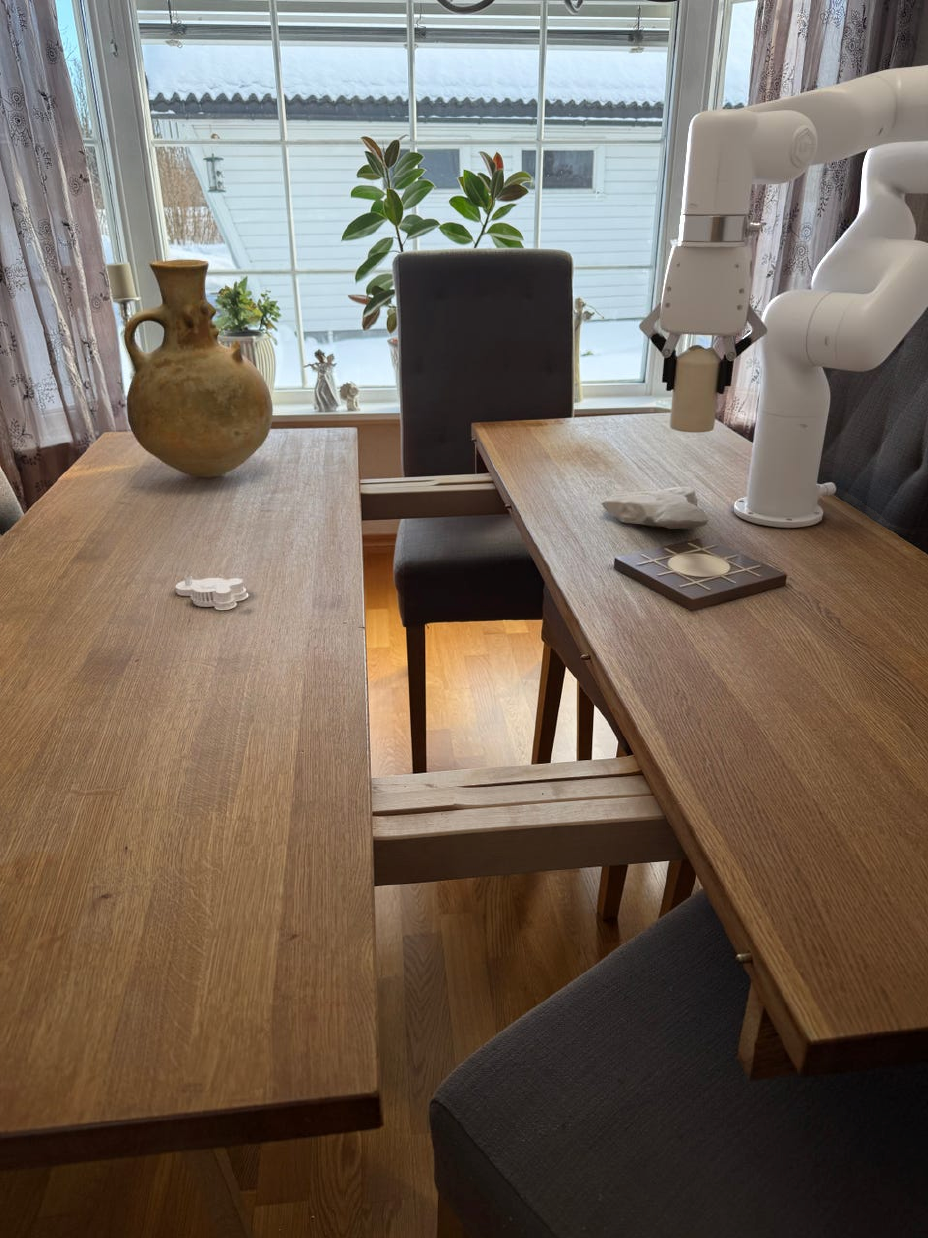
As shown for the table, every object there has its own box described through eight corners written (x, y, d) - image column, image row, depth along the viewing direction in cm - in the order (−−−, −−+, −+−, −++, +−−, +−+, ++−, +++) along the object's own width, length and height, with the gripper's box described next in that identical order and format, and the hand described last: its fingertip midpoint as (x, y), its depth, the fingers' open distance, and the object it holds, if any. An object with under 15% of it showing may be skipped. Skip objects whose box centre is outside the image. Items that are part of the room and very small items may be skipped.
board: (702, 546, 121) (703, 535, 120) (785, 585, 109) (787, 573, 108) (613, 568, 115) (614, 556, 114) (691, 611, 103) (692, 598, 102)
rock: (596, 546, 122) (708, 543, 119) (594, 513, 121) (708, 509, 117) (608, 507, 142) (705, 504, 138) (607, 479, 140) (705, 475, 136)
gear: (254, 582, 112) (252, 567, 111) (245, 611, 104) (243, 595, 103) (179, 586, 111) (176, 570, 110) (165, 615, 104) (162, 599, 103)
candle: (664, 423, 115) (671, 343, 110) (706, 422, 115) (715, 342, 111) (675, 433, 110) (684, 350, 105) (719, 432, 110) (729, 349, 106)
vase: (133, 501, 142) (89, 268, 127) (145, 461, 163) (109, 257, 148) (283, 489, 147) (258, 263, 132) (276, 451, 168) (254, 253, 153)
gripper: (790, 231, 103) (768, 389, 111) (643, 230, 108) (631, 381, 116) (790, 234, 97) (766, 400, 105) (633, 232, 102) (621, 392, 110)
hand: (695, 388), depth 110 cm, fingers closed on candle, 5 cm apart
